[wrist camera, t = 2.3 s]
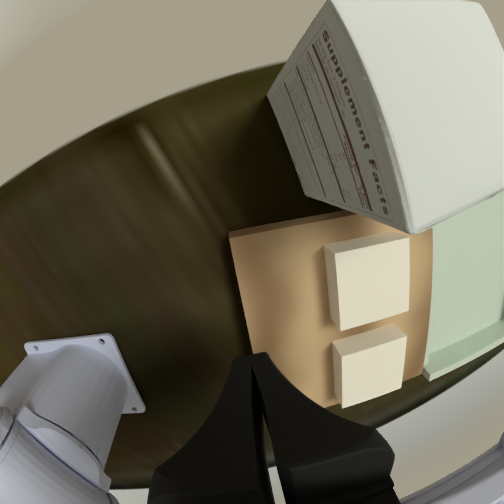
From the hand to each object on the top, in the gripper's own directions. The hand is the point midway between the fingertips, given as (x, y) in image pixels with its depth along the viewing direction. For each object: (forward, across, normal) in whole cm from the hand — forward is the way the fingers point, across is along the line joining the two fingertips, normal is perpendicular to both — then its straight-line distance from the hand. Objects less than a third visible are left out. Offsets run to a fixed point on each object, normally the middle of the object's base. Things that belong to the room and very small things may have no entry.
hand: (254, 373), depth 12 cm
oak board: (+9, -7, +4) cm, 12 cm away
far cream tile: (+7, -8, +7) cm, 13 cm away
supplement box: (+10, -8, -10) cm, 16 cm away
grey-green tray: (+9, -21, +3) cm, 23 cm away
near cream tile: (+7, -8, 0) cm, 11 cm away
